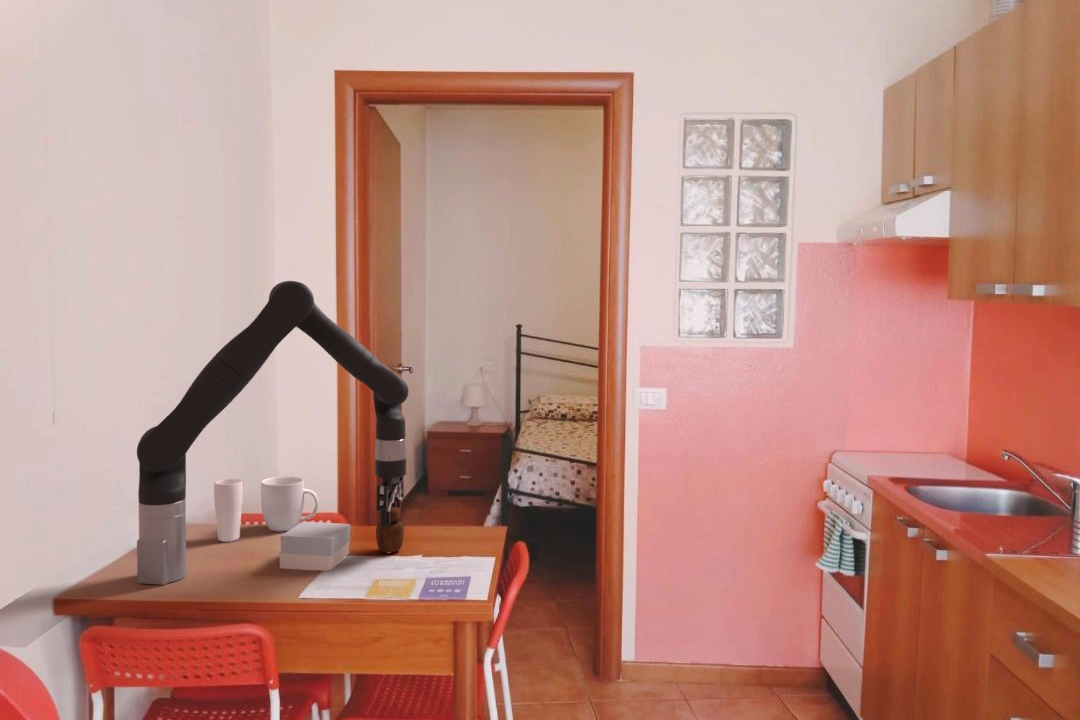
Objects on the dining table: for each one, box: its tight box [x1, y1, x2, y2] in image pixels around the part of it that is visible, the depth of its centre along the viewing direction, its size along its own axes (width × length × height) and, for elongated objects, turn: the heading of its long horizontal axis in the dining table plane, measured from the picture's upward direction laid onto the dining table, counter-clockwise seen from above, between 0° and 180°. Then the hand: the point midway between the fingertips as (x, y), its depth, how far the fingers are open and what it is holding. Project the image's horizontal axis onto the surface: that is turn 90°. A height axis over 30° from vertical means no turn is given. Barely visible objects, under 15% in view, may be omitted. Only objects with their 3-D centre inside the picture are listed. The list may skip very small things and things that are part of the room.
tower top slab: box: [280, 520, 351, 556], centre depth 180 cm, size 12×12×4 cm
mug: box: [260, 475, 320, 533], centre depth 206 cm, size 15×11×13 cm
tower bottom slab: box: [279, 541, 350, 572], centre depth 181 cm, size 12×12×4 cm
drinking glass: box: [213, 478, 244, 543], centre depth 195 cm, size 7×7×15 cm
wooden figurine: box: [375, 500, 405, 553], centre depth 189 cm, size 7×6×15 cm
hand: (390, 521), depth 189 cm, fingers open, 8 cm apart
